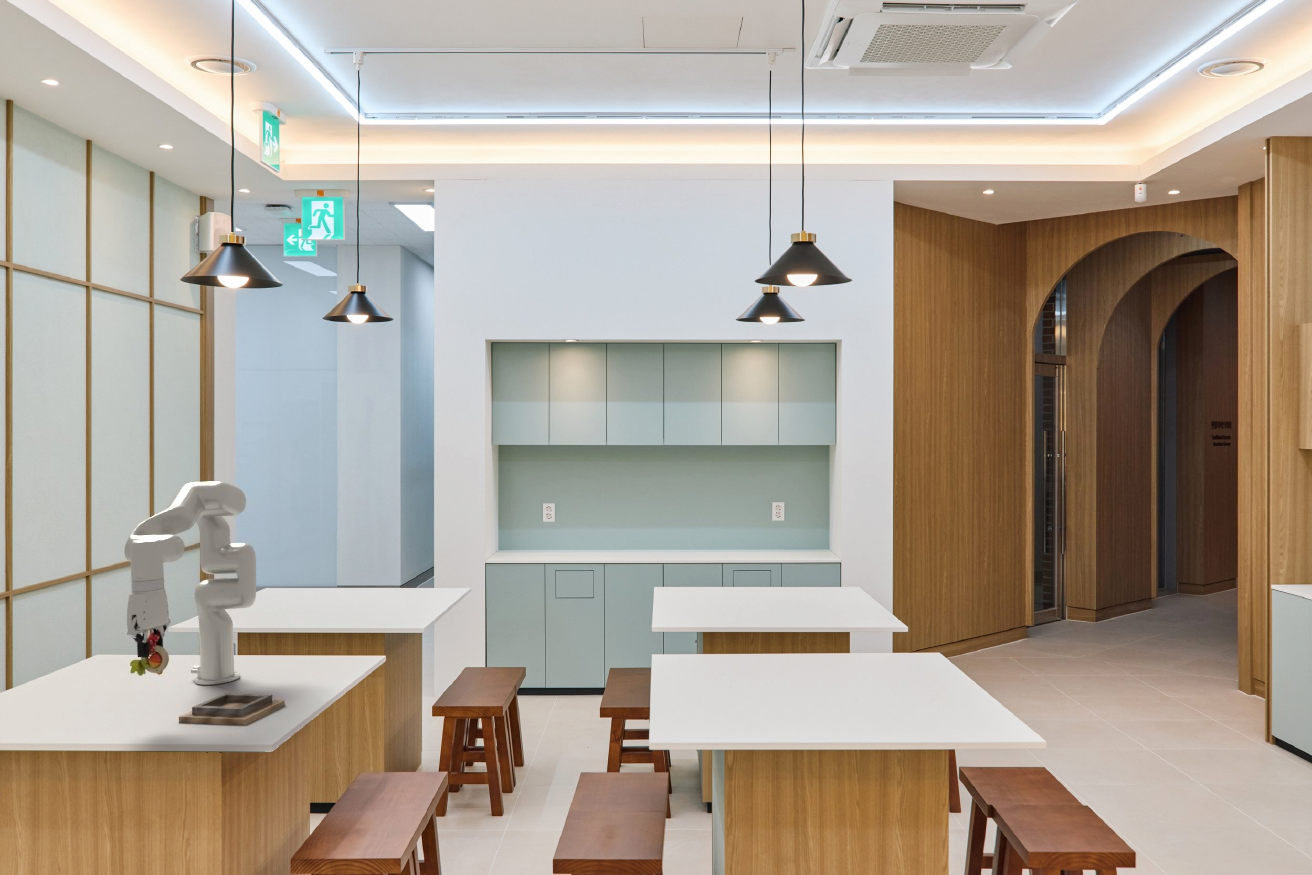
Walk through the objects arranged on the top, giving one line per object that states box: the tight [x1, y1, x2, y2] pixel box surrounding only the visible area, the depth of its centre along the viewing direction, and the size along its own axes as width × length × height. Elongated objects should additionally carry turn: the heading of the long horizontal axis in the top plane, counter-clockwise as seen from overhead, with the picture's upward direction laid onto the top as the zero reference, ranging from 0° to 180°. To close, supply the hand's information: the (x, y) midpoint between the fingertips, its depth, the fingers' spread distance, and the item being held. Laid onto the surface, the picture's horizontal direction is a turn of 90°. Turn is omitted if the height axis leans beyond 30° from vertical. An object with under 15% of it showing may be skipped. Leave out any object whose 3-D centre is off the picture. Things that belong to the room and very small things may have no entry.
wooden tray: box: [178, 692, 286, 726], centre depth 246 cm, size 20×17×4 cm
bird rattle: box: [129, 632, 170, 677], centre depth 239 cm, size 6×11×9 cm
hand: (150, 653), depth 239 cm, fingers closed on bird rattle, 4 cm apart
